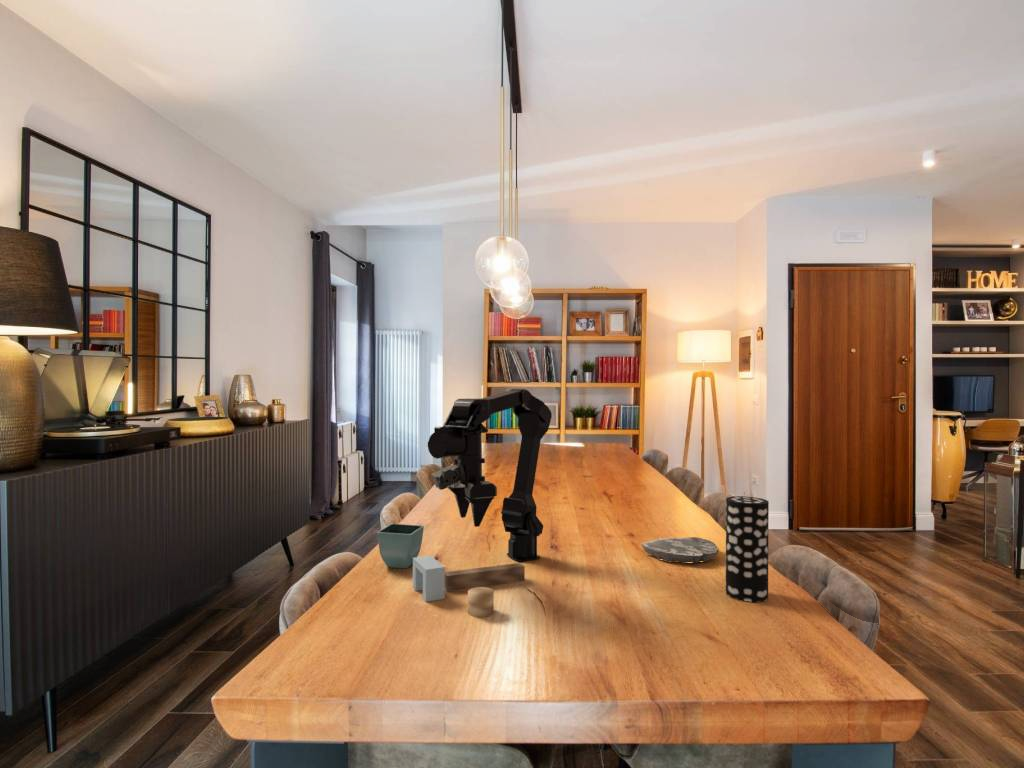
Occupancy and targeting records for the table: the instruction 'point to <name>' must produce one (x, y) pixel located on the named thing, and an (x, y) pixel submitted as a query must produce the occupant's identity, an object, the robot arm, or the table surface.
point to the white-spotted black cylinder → (747, 548)
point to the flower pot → (400, 544)
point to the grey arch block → (429, 577)
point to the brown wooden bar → (484, 576)
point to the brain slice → (681, 549)
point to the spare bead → (480, 602)
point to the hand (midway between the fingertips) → (469, 521)
